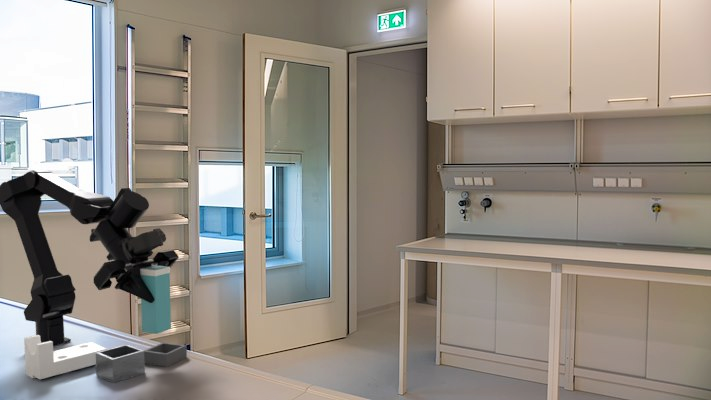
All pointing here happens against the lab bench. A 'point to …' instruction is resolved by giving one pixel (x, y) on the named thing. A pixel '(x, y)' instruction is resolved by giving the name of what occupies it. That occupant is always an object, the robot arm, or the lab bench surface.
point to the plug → (156, 299)
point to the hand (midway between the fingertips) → (160, 299)
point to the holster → (165, 354)
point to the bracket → (56, 357)
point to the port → (120, 363)
